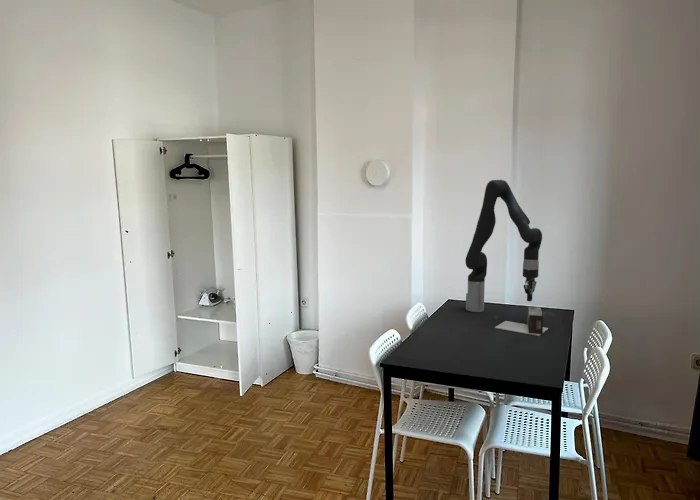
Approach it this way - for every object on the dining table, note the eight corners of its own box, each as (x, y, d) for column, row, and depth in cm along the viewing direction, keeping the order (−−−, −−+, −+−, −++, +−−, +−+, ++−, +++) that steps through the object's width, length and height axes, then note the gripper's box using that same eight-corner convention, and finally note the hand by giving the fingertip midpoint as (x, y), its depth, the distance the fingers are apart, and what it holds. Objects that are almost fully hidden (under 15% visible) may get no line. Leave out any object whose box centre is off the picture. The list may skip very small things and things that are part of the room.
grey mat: (494, 328, 264) (494, 327, 264) (505, 321, 275) (505, 320, 274) (539, 335, 250) (539, 335, 250) (548, 328, 261) (548, 328, 261)
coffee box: (540, 324, 267) (542, 334, 252) (526, 323, 269) (528, 333, 253) (541, 307, 265) (543, 316, 250) (527, 306, 267) (529, 315, 252)
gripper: (527, 265, 273) (526, 297, 276) (518, 269, 263) (517, 302, 265) (542, 266, 269) (541, 299, 271) (533, 270, 258) (532, 304, 261)
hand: (529, 300), depth 268 cm, fingers closed
